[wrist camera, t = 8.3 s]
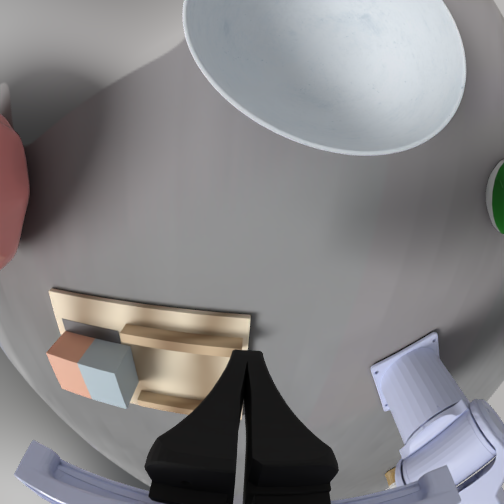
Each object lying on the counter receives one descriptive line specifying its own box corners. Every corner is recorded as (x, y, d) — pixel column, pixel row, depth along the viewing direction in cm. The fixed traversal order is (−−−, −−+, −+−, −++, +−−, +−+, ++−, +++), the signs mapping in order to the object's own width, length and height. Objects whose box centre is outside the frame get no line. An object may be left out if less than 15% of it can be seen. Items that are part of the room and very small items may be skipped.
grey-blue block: (130, 345, 23) (114, 373, 19) (138, 381, 25) (126, 409, 21) (95, 338, 23) (77, 363, 19) (106, 374, 25) (92, 398, 21)
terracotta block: (95, 338, 23) (77, 363, 19) (106, 373, 25) (92, 398, 21) (65, 330, 23) (46, 352, 19) (77, 365, 25) (62, 388, 21)
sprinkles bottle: (382, 472, 35) (397, 525, 23) (404, 462, 34) (421, 514, 22) (386, 476, 36) (400, 526, 24) (406, 467, 36) (422, 516, 23)
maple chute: (250, 314, 22) (250, 329, 20) (241, 415, 27) (241, 430, 25) (51, 288, 22) (40, 297, 20) (83, 385, 27) (77, 396, 25)
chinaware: (432, 122, 17) (497, 119, 10) (262, 187, 19) (266, 207, 12) (349, -27, 12) (378, -75, 5) (178, 20, 15) (144, -31, 7)
